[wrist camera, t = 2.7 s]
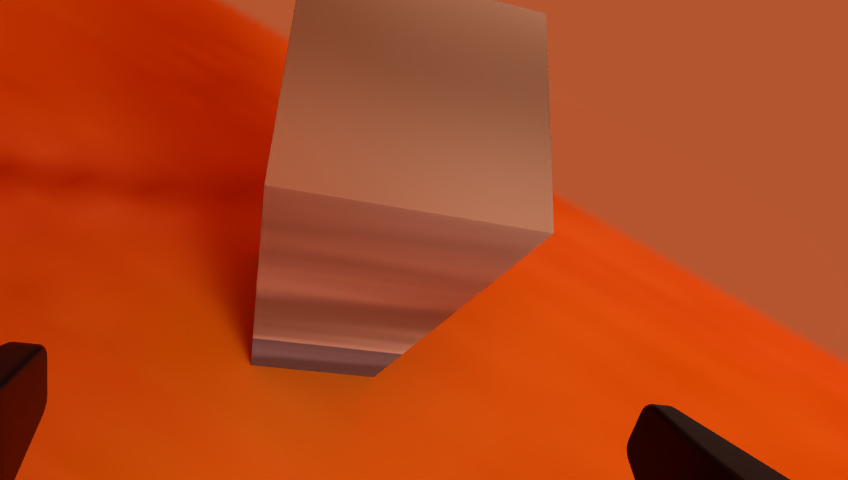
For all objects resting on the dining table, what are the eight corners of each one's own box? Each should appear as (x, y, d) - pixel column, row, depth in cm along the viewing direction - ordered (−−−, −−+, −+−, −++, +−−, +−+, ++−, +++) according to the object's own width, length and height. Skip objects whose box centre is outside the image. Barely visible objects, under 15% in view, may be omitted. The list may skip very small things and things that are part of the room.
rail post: (373, 377, 20) (554, 232, 8) (250, 365, 19) (264, 184, 8) (382, 264, 22) (545, 13, 10) (269, 248, 21) (304, -49, 9)
